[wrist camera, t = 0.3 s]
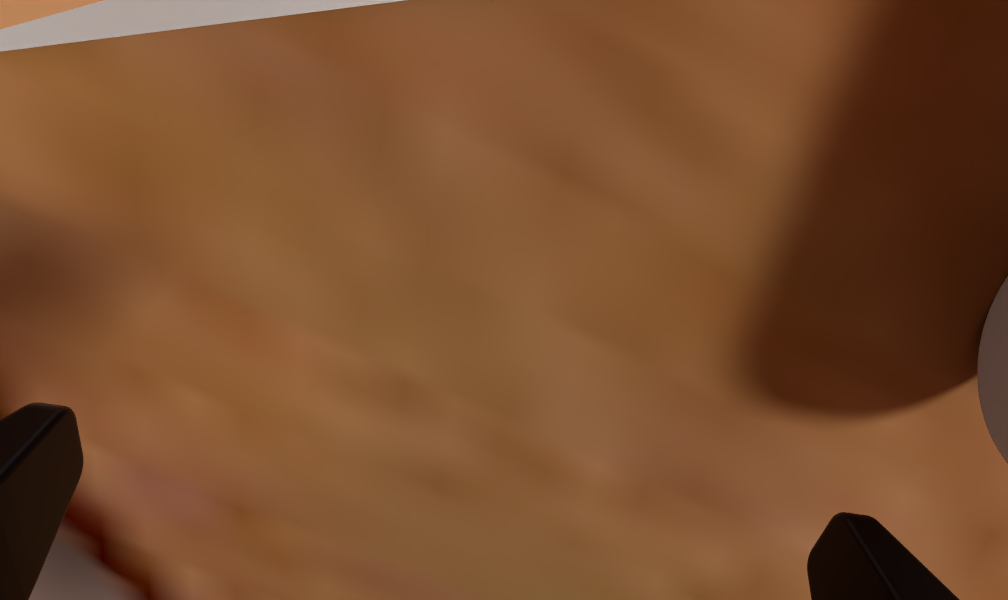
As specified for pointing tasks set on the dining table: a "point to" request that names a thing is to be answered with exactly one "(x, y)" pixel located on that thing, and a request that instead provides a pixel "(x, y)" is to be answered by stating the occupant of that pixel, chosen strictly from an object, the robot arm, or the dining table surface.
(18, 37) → the mat
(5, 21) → the orange block
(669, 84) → the dining table surface
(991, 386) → the grey rounded panel
